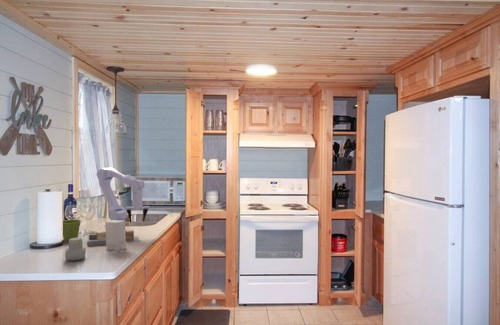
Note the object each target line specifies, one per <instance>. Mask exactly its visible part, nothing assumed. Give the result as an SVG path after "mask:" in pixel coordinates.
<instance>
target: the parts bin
mask: <svg viewBox="0 0 500 325" xmlns="http://www.w3.org/2000/svg"><path fill="white" fill-rule="evenodd" d="M95 246H96V247H97V246H106V240H96V233H95V234H87V247H95Z"/></svg>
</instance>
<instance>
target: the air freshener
mask: <svg viewBox="0 0 500 325" xmlns="http://www.w3.org/2000/svg"><path fill="white" fill-rule="evenodd" d="M64 256H65V260H67V261H69V262H76V261H77V262H78V261H82V260H83V259H85V258H86V247H84V246H83V238H81V237H78V238H71V239H70V240H69V241H68V247H67V248H66V249H65V254H64Z"/></svg>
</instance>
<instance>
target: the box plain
mask: <svg viewBox="0 0 500 325" xmlns="http://www.w3.org/2000/svg"><path fill="white" fill-rule="evenodd" d="M95 232H96V233H95V234H96V240H106V230H98V231H95Z"/></svg>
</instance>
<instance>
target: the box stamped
mask: <svg viewBox="0 0 500 325" xmlns="http://www.w3.org/2000/svg"><path fill="white" fill-rule="evenodd" d="M125 234H126V241H127V240H134V237H135V232H134V229H129V230H128V229H127V230H125Z"/></svg>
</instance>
